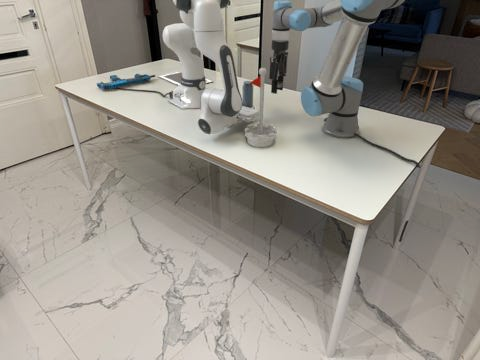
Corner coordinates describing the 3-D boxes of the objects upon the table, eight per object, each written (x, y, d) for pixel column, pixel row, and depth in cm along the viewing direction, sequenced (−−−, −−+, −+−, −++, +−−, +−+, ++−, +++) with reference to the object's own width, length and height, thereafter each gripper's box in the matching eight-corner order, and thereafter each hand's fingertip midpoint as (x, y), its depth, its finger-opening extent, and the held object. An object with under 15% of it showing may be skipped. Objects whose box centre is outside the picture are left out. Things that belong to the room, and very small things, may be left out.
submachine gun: (141, 68, 225) (159, 74, 208) (142, 74, 227) (160, 80, 210) (89, 78, 206) (104, 86, 190) (91, 84, 208) (106, 92, 192)
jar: (240, 121, 159) (240, 82, 149) (245, 117, 162) (245, 79, 153) (249, 123, 157) (250, 84, 147) (254, 119, 161) (255, 81, 151)
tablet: (158, 76, 219) (158, 76, 218) (184, 71, 230) (184, 70, 229) (185, 88, 198) (185, 88, 198) (213, 81, 209) (213, 81, 209)
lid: (274, 88, 159) (275, 84, 158) (269, 85, 163) (269, 81, 162) (284, 86, 160) (285, 83, 159) (279, 83, 164) (279, 79, 163)
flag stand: (267, 132, 148) (271, 61, 132) (281, 144, 138) (286, 70, 122) (240, 137, 144) (240, 65, 128) (252, 150, 134) (253, 74, 118)
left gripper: (248, 114, 140) (267, 104, 149) (212, 103, 151) (232, 94, 160) (247, 128, 144) (266, 118, 153) (212, 116, 155) (232, 107, 164)
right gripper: (282, 35, 158) (278, 84, 171) (262, 42, 145) (260, 95, 158) (296, 37, 155) (292, 87, 167) (278, 45, 142) (274, 98, 155)
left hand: (248, 106), depth 157 cm, fingers closed on jar, 5 cm apart
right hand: (276, 91), depth 163 cm, fingers closed on lid, 5 cm apart
